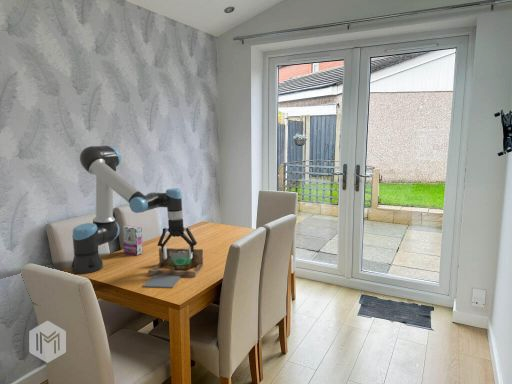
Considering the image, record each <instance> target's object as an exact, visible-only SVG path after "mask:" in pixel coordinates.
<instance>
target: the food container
mask: <svg viewBox="0 0 512 384" xmlns="http://www.w3.org/2000/svg"><path fill="white" fill-rule="evenodd" d="M192 253H193V252H192ZM169 256H171V260H172V265H171V266H172V270H176V271H190V269H191V268H192V266H191V259H190V255H189V251H178V252H173V253H172V252H170V253H169Z"/></svg>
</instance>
